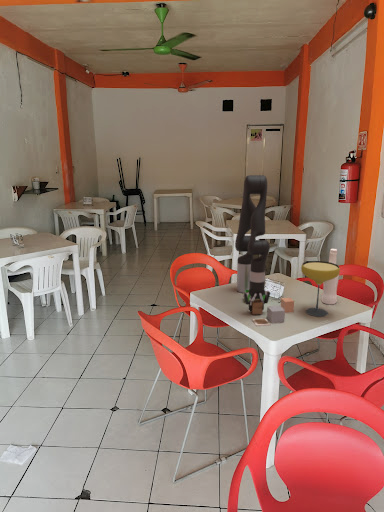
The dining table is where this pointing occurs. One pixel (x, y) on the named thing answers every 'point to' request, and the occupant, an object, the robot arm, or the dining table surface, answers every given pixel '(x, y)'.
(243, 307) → the dining table surface
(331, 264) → the cocktail glass
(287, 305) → the terracotta block
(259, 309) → the walnut block
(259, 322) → the tile
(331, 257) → the bottle
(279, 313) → the grey block
